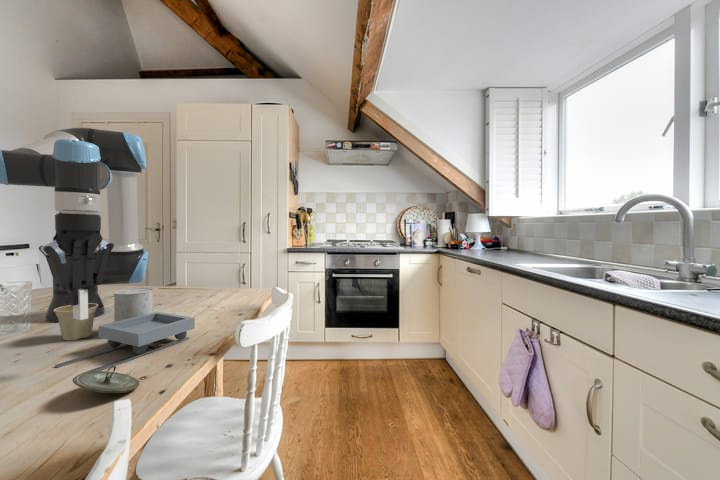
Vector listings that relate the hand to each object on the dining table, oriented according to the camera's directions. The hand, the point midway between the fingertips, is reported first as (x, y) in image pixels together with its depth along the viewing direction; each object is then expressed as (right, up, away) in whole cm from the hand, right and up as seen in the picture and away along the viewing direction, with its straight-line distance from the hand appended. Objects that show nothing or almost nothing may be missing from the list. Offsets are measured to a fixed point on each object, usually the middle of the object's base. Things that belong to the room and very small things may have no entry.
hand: (80, 318), depth 70 cm
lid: (+14, -12, -10) cm, 21 cm away
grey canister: (-6, -10, +25) cm, 28 cm away
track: (+4, -11, +9) cm, 15 cm away
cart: (+6, -11, +14) cm, 19 cm away
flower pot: (-18, -10, +19) cm, 28 cm away
